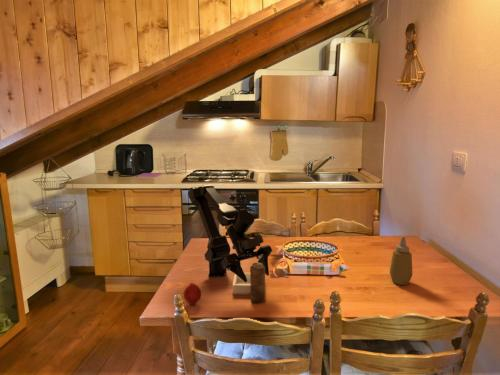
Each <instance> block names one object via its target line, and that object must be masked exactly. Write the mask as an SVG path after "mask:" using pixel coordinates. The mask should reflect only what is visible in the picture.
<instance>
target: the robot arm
mask: <svg viewBox="0 0 500 375" xmlns="http://www.w3.org/2000/svg"><path fill="white" fill-rule="evenodd" d="M187 197H188V199H189V200H190V202H191V204H192V205H193V206H194V207H196V209H197V210H198V213H199V216H200V218H201V222H202V224H203V227H204V229H205V233H206V235H207V237H208V241H207V245H206V247H207V250H206V252H205V253H204V260H205V261H207V262H208V270H209V271H208V272H209V273H208V277H225V276H226V274H227V272H228V271H231V272H232V273H233V274H234V275H235V274H236V275H237V276H238V277H240V278H241V279H242V280H243V281H244V282H247V278H246V276H245V274H244V273H245V272H244V269H243V267H242V266H241V265H242V263H241V262H243V261H246V260H248V259H254V258H256V259H257V263H262V264H263V266H265V276H269V275H270V270H269V257H270V255H271V254H272V252H273V248H272V247H271V245H269V244H266V245H263V246H261V244H263V243H264V238H263V236H262V234H256V235H254V236H253V237H252V238H251V237H250V236H247V235H246V233H247V232H248V231H249V230H250V228H251V226H252V225H253V224H254V223H255V216H254V215H253V214H252V213H251V212H249V211H247V210H246V209H245V208H242V209H238V210H237V209H236V208H235V207H234V206H232V205H230V204H227V202H226V201H225V200H224V199H223V198H222V196H221V195H220V193H219V192H217V191H216V189H215V186H214V185H213V184H204V185H201V186H195V187H190V188H189V190H188V191H187ZM210 205H211V207H212V208H213V209H214V211H215V212H216V219H217V221H218V223H219V225H221V227H227V226H229V227H228V228H226V231H225V235H221V234H220V231H219V228H218V225H217V223H216V220H215V218H214V215H213V212H212V209H211V207H210ZM227 236H228V237H229V239H230V242H231V243H232V246H230V243H229V242H228V239H227V238H228V237H227ZM231 247H232V250H235V251H236V253H235V252H233V253H231ZM257 247H259V248H258V249H257ZM256 249H257V250H256ZM255 250H256V251H255Z"/></svg>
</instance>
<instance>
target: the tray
mask: <svg viewBox="0 0 500 375" xmlns="http://www.w3.org/2000/svg"><path fill="white" fill-rule="evenodd" d="M244 274H245V276H246V278H247V282H244V281H243V280H242V279H241V278H240V277H238V276H237V275H236V274H235V273H234V277H233V281H232V295H244V296H245V295H246V296H247V295H250V296H251V284H250V272H244Z"/></svg>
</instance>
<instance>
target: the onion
mask: <svg viewBox="0 0 500 375" xmlns="http://www.w3.org/2000/svg"><path fill="white" fill-rule="evenodd" d="M201 291H202V290H201V288H200V286H198V285H197V284H195V283H194V282H190V284H188V285H187V286H186V287H185V289H184V292H183V298H184V300H185V301H186V302H187V303H188V304H190V305H192V306H194V305H195V304H197V303H198V302H199V301H200V299H201V297H202V292H201Z"/></svg>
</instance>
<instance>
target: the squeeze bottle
mask: <svg viewBox="0 0 500 375" xmlns="http://www.w3.org/2000/svg"><path fill="white" fill-rule="evenodd" d="M391 255H392V256H391V260H390V261H391V262H390V267H389V275H390V278H391V281H392V283H394V284H395V285H399V286H408V285H409V283H410V281H411V279H412V277H413V259H412V258H413V256H412V253H411V252H410V246H409V245H407V241H406V236H401V237H400V240H399V244H396V245H395V249H394V251H393V252H392V254H391Z"/></svg>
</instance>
